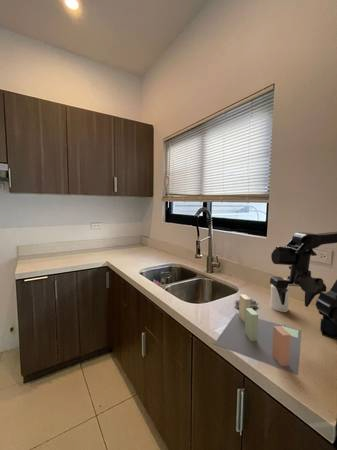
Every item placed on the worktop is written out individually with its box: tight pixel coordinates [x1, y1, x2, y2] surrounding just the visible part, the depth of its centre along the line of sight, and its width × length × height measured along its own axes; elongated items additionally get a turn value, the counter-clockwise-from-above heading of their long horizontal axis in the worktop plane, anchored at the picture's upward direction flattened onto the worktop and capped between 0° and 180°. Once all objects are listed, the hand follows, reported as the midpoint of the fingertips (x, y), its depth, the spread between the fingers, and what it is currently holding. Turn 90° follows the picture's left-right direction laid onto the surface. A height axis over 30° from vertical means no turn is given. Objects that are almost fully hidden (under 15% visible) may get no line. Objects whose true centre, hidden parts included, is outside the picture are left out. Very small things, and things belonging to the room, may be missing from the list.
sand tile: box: [238, 293, 251, 322], centre depth 96 cm, size 2×5×10 cm, turn 6°
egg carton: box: [233, 298, 259, 310], centre depth 108 cm, size 11×8×4 cm
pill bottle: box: [269, 277, 290, 313], centre depth 107 cm, size 8×8×15 cm
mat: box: [213, 312, 302, 375], centre depth 83 cm, size 26×28×1 cm
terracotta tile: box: [272, 326, 291, 366], centre depth 70 cm, size 2×5×10 cm, turn 6°
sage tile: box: [245, 308, 259, 341], centre depth 83 cm, size 2×5×10 cm, turn 6°
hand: (294, 305), depth 84 cm, fingers open, 9 cm apart
